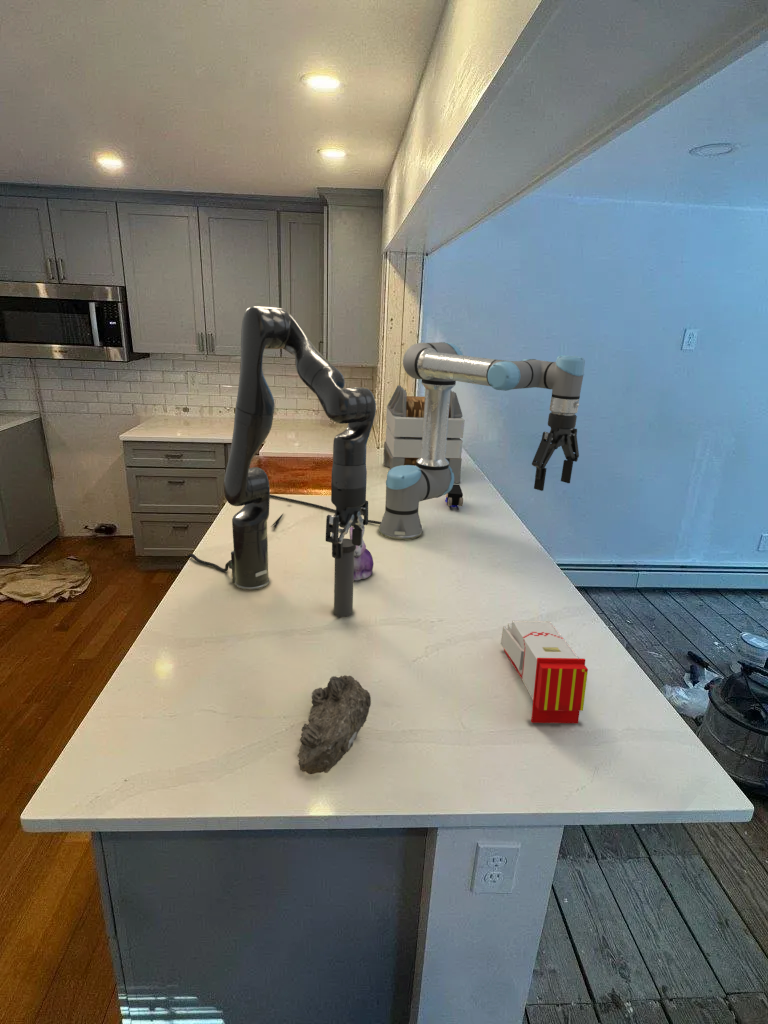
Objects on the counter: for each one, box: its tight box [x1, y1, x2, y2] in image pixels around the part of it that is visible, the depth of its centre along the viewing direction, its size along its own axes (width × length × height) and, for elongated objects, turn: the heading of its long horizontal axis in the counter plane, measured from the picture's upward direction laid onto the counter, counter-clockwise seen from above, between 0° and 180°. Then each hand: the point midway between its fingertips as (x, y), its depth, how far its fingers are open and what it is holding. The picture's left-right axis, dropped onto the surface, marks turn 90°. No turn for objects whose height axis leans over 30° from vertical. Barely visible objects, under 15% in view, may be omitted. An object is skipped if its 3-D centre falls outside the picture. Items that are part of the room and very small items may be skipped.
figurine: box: [348, 526, 374, 581], centre depth 166 cm, size 9×10×15 cm
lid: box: [342, 537, 356, 553], centre depth 141 cm, size 6×6×2 cm
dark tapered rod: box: [270, 513, 284, 530], centre depth 210 cm, size 2×28×2 cm
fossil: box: [296, 674, 372, 775], centre depth 103 cm, size 22×10×15 cm
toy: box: [500, 620, 589, 724], centre depth 121 cm, size 12×13×30 cm
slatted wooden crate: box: [383, 384, 465, 484], centre depth 268 cm, size 34×33×41 cm
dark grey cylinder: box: [333, 551, 354, 618], centre depth 144 cm, size 5×5×19 cm
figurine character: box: [444, 483, 464, 511], centre depth 230 cm, size 7×8×15 cm
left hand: (347, 551), depth 127 cm, fingers open, 8 cm apart
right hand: (552, 485), depth 166 cm, fingers open, 13 cm apart
